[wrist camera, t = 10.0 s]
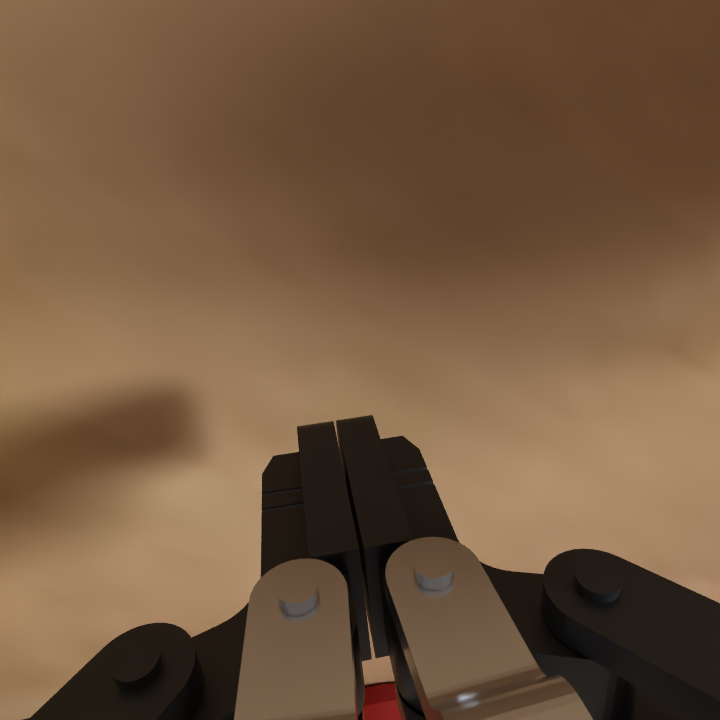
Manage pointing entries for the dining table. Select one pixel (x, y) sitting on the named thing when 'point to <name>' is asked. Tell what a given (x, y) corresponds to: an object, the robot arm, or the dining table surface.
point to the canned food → (381, 703)
